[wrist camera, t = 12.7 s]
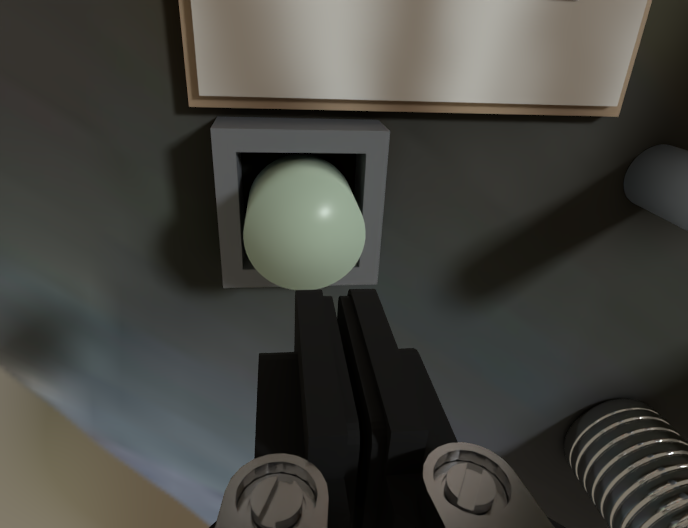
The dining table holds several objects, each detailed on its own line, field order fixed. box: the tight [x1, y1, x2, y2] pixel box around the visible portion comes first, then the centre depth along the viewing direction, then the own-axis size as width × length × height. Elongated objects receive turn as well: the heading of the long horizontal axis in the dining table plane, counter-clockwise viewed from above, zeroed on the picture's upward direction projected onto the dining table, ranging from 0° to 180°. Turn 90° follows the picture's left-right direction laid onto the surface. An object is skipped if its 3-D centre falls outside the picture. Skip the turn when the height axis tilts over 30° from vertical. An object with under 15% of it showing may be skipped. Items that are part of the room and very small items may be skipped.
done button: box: [243, 154, 365, 290], centre depth 20 cm, size 5×5×4 cm
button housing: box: [210, 117, 390, 288], centre depth 21 cm, size 7×7×2 cm
